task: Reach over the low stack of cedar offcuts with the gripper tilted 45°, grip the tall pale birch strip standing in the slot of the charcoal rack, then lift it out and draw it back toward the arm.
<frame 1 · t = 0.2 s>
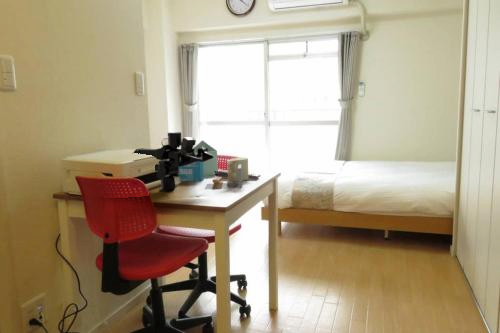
hand: (205, 158, 166), 16 cm above the table, tool horizontal, fingers open, 9 cm apart
grey-green peaked box: (202, 176, 218), on the table
can: (240, 181, 198), on the table
birch strip: (232, 185, 183), point 1 cm above the table, touching rack
rack: (224, 187, 183), on the table
data package: (191, 182, 200), on the table
offcut stack: (217, 185, 183), point 1 cm above the table, touching rack
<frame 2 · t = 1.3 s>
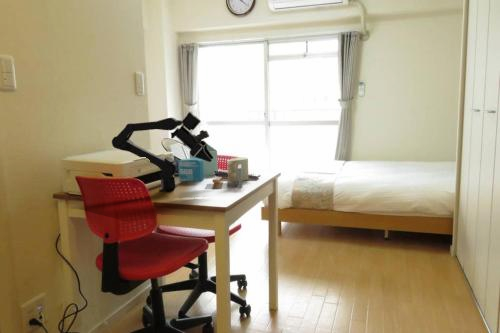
hand: (212, 159, 181), 14 cm above the table, tool tilted 45°, fingers open, 9 cm apart
nothing on the table moved.
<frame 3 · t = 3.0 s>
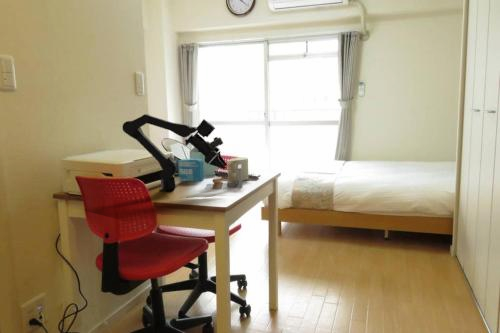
hand: (225, 166, 182), 10 cm above the table, tool tilted 45°, fingers open, 9 cm apart
nothing on the table moved.
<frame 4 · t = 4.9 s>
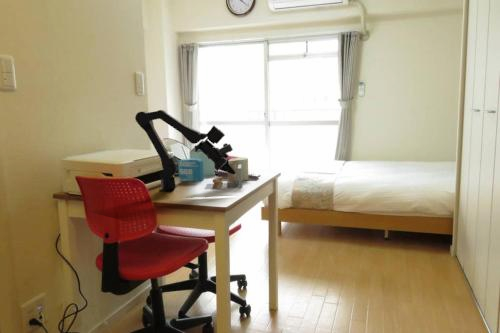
hand: (235, 173, 182), 7 cm above the table, tool tilted 45°, fingers closed on birch strip, 2 cm apart
birch strip: (232, 185, 183), point 1 cm above the table, touching gripper, rack
everything else where it was.
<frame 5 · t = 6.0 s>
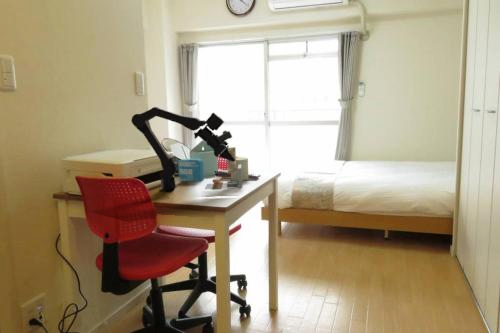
hand: (234, 160, 181), 13 cm above the table, tool tilted 45°, fingers closed on birch strip, 2 cm apart
birch strip: (232, 172, 182), point 7 cm above the table, touching gripper
everything else where it was.
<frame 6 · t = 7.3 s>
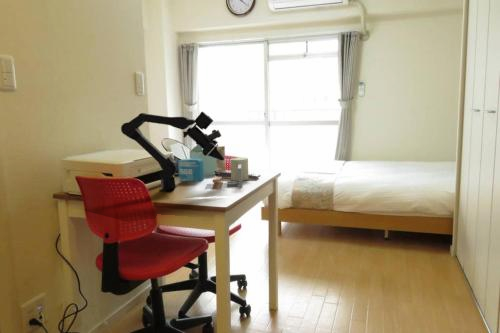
hand: (223, 159, 181), 14 cm above the table, tool tilted 45°, fingers closed on birch strip, 2 cm apart
birch strip: (221, 171, 182), point 8 cm above the table, touching gripper
everything else where it was.
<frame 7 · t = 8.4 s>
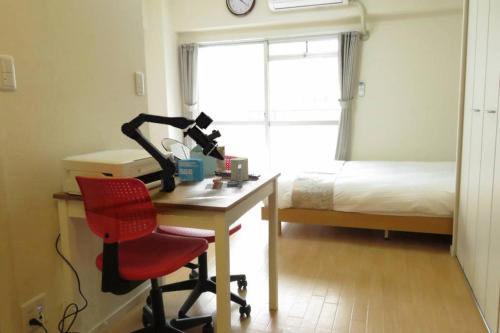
hand: (223, 159, 181), 14 cm above the table, tool tilted 45°, fingers closed on birch strip, 2 cm apart
birch strip: (221, 171, 182), point 8 cm above the table, touching gripper
everything else where it was.
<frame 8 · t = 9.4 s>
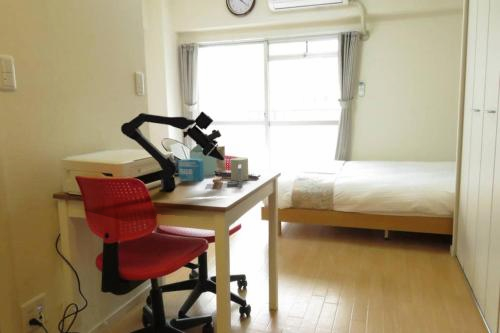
hand: (223, 159, 181), 14 cm above the table, tool tilted 45°, fingers closed on birch strip, 2 cm apart
birch strip: (221, 171, 182), point 8 cm above the table, touching gripper
everything else where it was.
at the end: birch strip point 7.8 cm above the table; the gripper is holding birch strip; offcut stack moved 0.0 cm from its start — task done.
